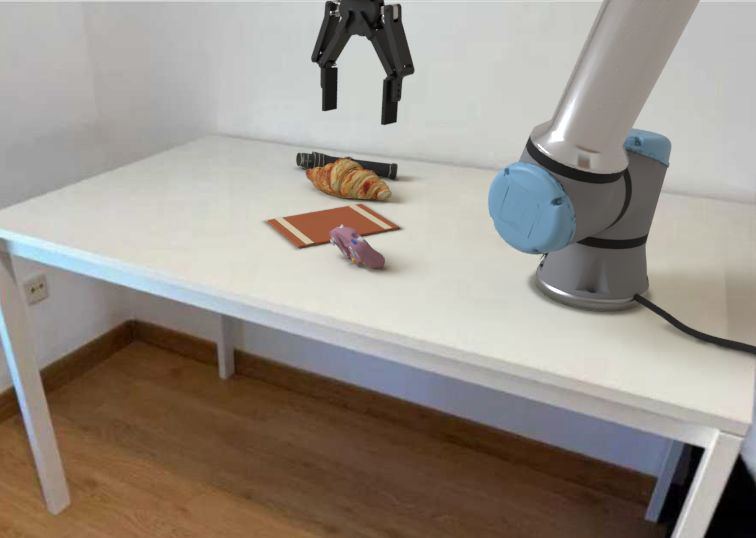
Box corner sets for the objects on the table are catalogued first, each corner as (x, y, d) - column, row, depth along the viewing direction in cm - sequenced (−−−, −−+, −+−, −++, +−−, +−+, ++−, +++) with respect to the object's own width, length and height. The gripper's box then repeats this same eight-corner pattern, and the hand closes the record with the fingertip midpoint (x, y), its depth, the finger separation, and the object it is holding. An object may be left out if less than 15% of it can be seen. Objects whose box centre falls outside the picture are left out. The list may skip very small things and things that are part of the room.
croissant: (396, 215, 139) (409, 176, 138) (374, 204, 131) (387, 163, 130) (312, 193, 151) (323, 157, 149) (287, 182, 142) (299, 144, 141)
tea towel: (399, 228, 124) (399, 226, 123) (298, 248, 117) (298, 245, 117) (361, 205, 135) (361, 203, 134) (267, 222, 128) (267, 219, 128)
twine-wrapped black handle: (403, 161, 148) (300, 148, 158) (396, 162, 144) (290, 149, 154) (400, 181, 150) (298, 167, 160) (393, 183, 145) (288, 168, 155)
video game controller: (336, 259, 116) (320, 228, 112) (357, 244, 117) (342, 211, 112) (366, 282, 109) (350, 249, 104) (389, 265, 109) (374, 231, 105)
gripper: (448, -36, 92) (433, 125, 103) (325, -37, 109) (323, 101, 120) (410, -33, 89) (399, 134, 100) (288, -35, 106) (290, 108, 117)
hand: (357, 116), depth 110 cm, fingers open, 13 cm apart
